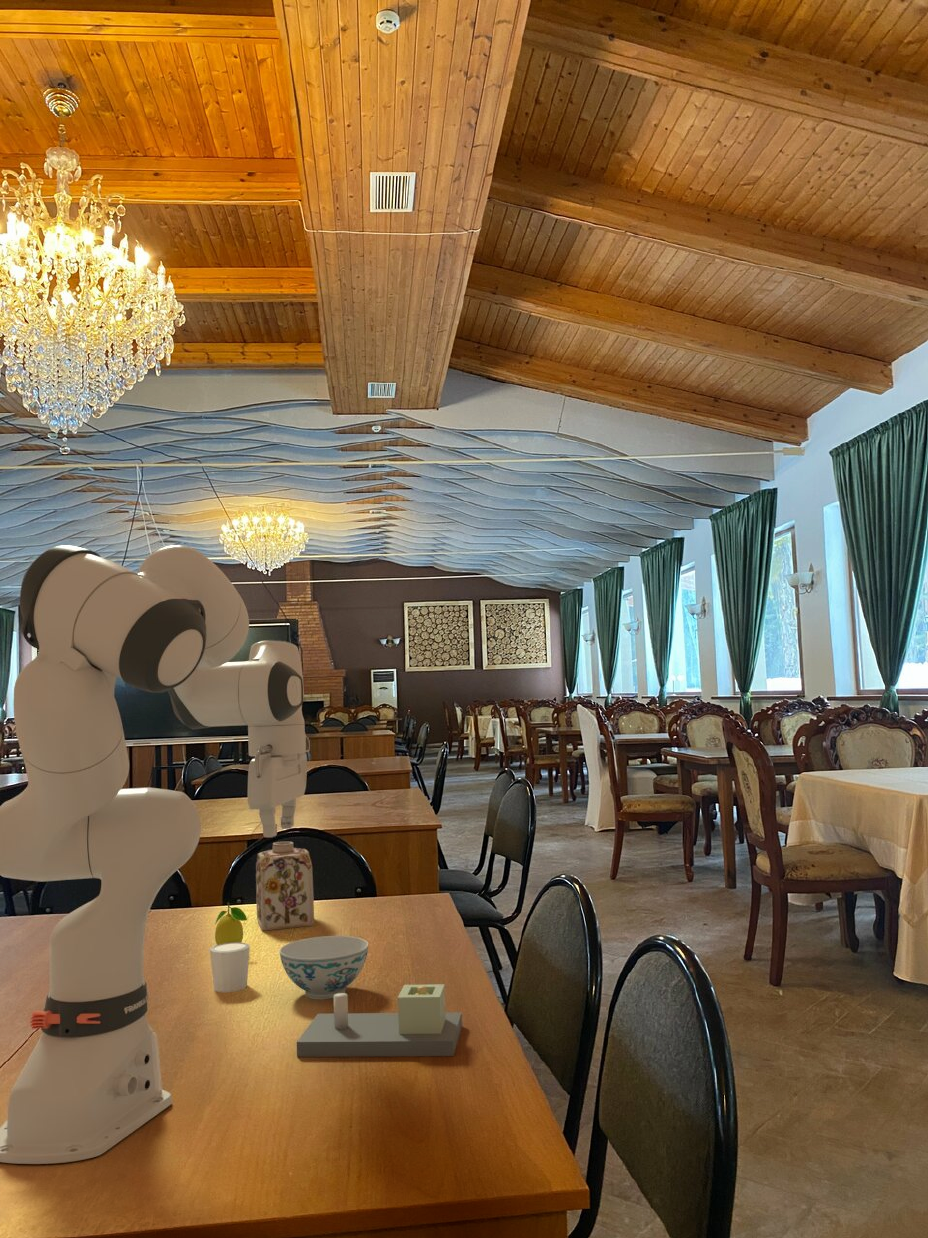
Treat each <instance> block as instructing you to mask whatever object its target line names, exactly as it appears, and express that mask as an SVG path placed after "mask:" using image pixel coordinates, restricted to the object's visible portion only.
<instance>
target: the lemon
mask: <svg viewBox="0 0 928 1238" xmlns="http://www.w3.org/2000/svg"><path fill="white" fill-rule="evenodd" d="M226 913H227V914H226ZM241 921H244V922H245V921H248V917H247V916H246V914H245V912H244V911H243V910H242V909H241V908H240V907H237V906H234V907H230V902H227V910H222V911H220V912H219V914H218V916H217V918H216V920H215V923H214V925H216V927H215V932H214V939H215V944H216V945H220V944H225V943H243V938H244V929H243V928H244V927H243V924H242V922H241Z"/></svg>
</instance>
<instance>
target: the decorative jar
mask: <svg viewBox="0 0 928 1238" xmlns="http://www.w3.org/2000/svg"><path fill="white" fill-rule="evenodd" d="M255 860H256V862H255V882H256V883H255V890H256V891H255V892H256V893H255V894H256V896H255V897H256V898H255V900H256V901H255V902H256V920H257V922H258V925H259V927H260V930H262V932H268V931H277V930H285V929H295V928H304V927H313V926H314V925H315V905H314V904H315V903H314V902H315V901H314V898H315V896H314V877H313V876H314V875H313V862H312V859H311V855H310V851H308V850H307V849H306V848H299V847H294V842H293V841H277V842H273V843H272V849H268V850H265V851H261V852H259V853H257V855H256V859H255Z"/></svg>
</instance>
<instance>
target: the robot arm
mask: <svg viewBox="0 0 928 1238" xmlns="http://www.w3.org/2000/svg"><path fill="white" fill-rule="evenodd" d="M20 586H21V587H20V594H19V597H20V598H19V609H20V610H19V611H20V614H21V617H22V619H23V624H22V627H21V634H22V636H23V638H24V640H25V641H26V642H27V644H28V645H29V646H31V647H33V649H34V648H35V649H37V650H38V653H37V655H36V656H35V658H33V659H32V660H31V661H30V662H28V663H27V664H26V665H25V666H24V667H23V668H22V670H21V671H20V672H19V674H18V676H17V678H16V680H15V682H14V687H13V718H14V727H15V731H16V737H17V741H18V745H19V749H20V752H21V756H22V758H23V763H24V766H25V771H26V778H27V782H28V783H27V786H26V787H25V788H24V790H23V791H22V792H20V793H19V794H18V795H16V796H15V797H12V798H11V799H9V800H6V801H4V802H3V803H2V804H1V805H0V876H1V877H3V878H7V879H13V880H21V881H29V882H30V881H33V882H41V883H42V882H55V881H56V882H57V881H66V880H71V881H72V880H83V879H99V880H101V881H100V882H101V886H100V891H99V894H98V895H97V896H96V897H95V898H94V899H92V900H91V901H88V902H87V903H85V904H83V905H81V906H79V907H78V908H76V909H74V910H73V911H71V912H69V913H68V914H66V915H65V916H64V917H62V919H60V920H59V921H58V923H57V924H56V925H55V926H54V928H53V929H52V932H51V935H50V938H49V993H48V994H47V996H46V999H45V1003H44V1006H43V1008H42V1010H35V1011H33V1012H32V1014H31V1017H30V1021H29V1023H30V1027H31V1029H32V1030H39V1029H40V1030H41V1032H42V1033H41V1034H40V1036H39V1039H38V1041H37V1042H36V1045H35V1047H34V1048H33V1049H32V1051H31V1054H30V1055H29V1057H28V1058H27V1060H26V1063H25V1065H24V1066H23V1068H22V1070H21V1072H20V1073H19V1075H18V1078H17V1080H16V1081H15V1083H14V1085H13V1086H12V1089H11V1090H10V1093H9V1096H8V1097H9V1098H8V1103H7V1104H8V1105H7V1117H6V1118H7V1119H6V1120H5V1122H3V1124H2V1125H1V1126H0V1163H7V1164H18V1165H19V1164H21V1165H22V1164H24V1165H25V1164H26V1165H42V1164H45V1165H49V1164H61V1163H71V1162H77V1161H78V1162H79V1161H83V1160H88V1159H91V1158H95V1157H99V1156H101V1155H103V1154H104V1153H106V1152H107V1151H108V1150H110V1149H111V1148H112V1147H114V1146H115V1145H117V1144H118V1143H119V1142H121V1141H122V1140H124V1139H126V1137H128V1136H129V1135H130V1134H132V1133H133V1132H135V1131H136V1130H138V1129H140V1127H142V1126H143V1125H145V1124H146V1123H147V1122H149V1121H151V1119H153V1118H155V1116H157V1115H159V1114H160V1113H162V1112H163V1111H164V1110H165V1109H167V1108H168V1107H170V1106H171V1105H172V1104H173V1098H172V1093H170V1092H169V1091H167V1090H164V1089H163V1085H162V1083H163V1082H162V1072H161V1061H160V1060H161V1059H160V1049H159V1039H158V1035H157V1033H156V1032H155V1030H153V1028H152V1027H151V1025H150V1023H149V1022H148V1020H147V1017H146V1013H147V1012H148V1000H149V992H148V986H147V982H146V981H145V980H144V951H145V950H144V949H145V946H144V945H145V935H146V934H145V933H146V925H147V922H148V921H147V920H148V917H149V913H150V910H151V908H152V906H153V905H152V904H154V901H155V899H156V897H157V895H158V893H159V892H160V890H161V888H162V887H163V886H164V885H165V883H166V882H167V881H168V879H170V878H171V877H172V876H173V874H175V873H176V872H177V871H178V870H179V869H180V868H181V867H183V866H184V865H185V864H186V863H187V862H188V861H189V860H190V859H191V857H192V856H193V855H194V853H195V851H196V849H197V847H198V845H199V841H200V838H201V833H202V832H201V831H202V827H201V825H202V824H201V818H200V814H199V811H198V809H197V806H196V805H195V803H194V802H193V800H192V799H191V798H190V797H189V796H188V795H187V794H186V793H185V792H183V791H178V790H172V789H167V788H165V789H164V788H157V787H135V788H134V787H131V788H123V786H125V783H126V782H127V779H128V776H129V771H130V759H129V754H128V749H127V743H126V739H125V731H124V728H123V723H122V722H123V721H122V718H121V714H120V711H119V708H118V703H117V700H116V698H115V686H116V680H117V678H119V679H121V680H123V682H124V683H125V684H127V685H128V686H131V687H134V688H136V689H138V690H142V691H144V692H149V693H154V694H161V693H165V692H167V693H168V696H170V701H171V705H172V709H173V713H174V715H175V716H176V717H177V719H178V720H179V721H180V722H181V723H182V724H183V725H185V726H186V727H187V728H189V729H191V730H200V729H208V728H215V727H230V726H231V727H233V726H237V727H238V726H247V732H248V733H247V734H248V736H247V738H248V739H247V740H248V741H247V743H248V744H247V745H248V756H249V757H254V758H252V759H251V760H250V762H249V764H248V765H249V766H248V773H247V803H248V807H249V809H250V810H259V811H258V813H259V818H260V822H261V824H262V835H263V837H264V838H273V837H276V836H277V834H278V825H277V823H276V815H275V814H276V807H279V806H280V805H281V807H282V808H281V817H280V827H281V829H283V830H284V829H285V830H287V829H291V828H293V827H294V826H295V819H294V818H295V813H296V808H297V799H298V798H300V797H303V796H305V792H306V789H307V776H308V775H307V774H308V773H307V772H308V757H307V756H308V755H307V753H308V752H309V751H310V748H311V745H310V743H311V741H310V739H309V737H308V736H307V735H306V732H305V731H306V730H305V727H306V726H305V719H304V716H303V711H302V710H303V709H302V708H303V703H304V697H305V694H304V693H305V692H304V677H303V675H304V674H303V669H302V660H301V656H300V651H299V649H298V646H297V645H295V644H294V643H292V642H291V641H287V640H280V639H277V640H275V639H269V640H268V639H267V640H260V641H258V642H255V643H253V644H252V645H251V646H250V649H249V656H248V660H245V661H243V660H241V661H231V660H232V659H233V658H234V657H236V655H237V654H238V653H239V652H240V651H241V649H242V647H243V646H244V644H245V642H246V640H247V637H248V634H249V629H250V618H249V613H248V610H247V606H246V605H245V602H244V599H243V598H242V596H241V595H240V594H239V591H237V589H236V587H235V586H234V584H233V583H232V582H231V580H230V579H229V578H228V577H227V575H226V574H225V573H224V572H223V571H222V570H221V569H220V568H219V566H218V565H216V564H215V563H214V562H213V561H212V559H211V560H210V558H208V557H207V556H206V555H204V554H203V553H202V552H200V551H199V550H197V549H195V548H194V547H191V546H187V545H183V544H182V545H179V544H177V545H167V546H165V547H162V548H159V549H157V550H155V551H153V552H152V553H150V554H149V555H148V556H147V557H146V558H145V559H144V560H143V561H142V563H141V564H140V566H139V568H138V570H137V572H135V571H133V570H131V569H129V568H127V567H125V566H123V565H121V564H119V563H117V562H114V561H112V560H109V559H107V558H104V557H103V556H101V555H100V554H99V553H98V552H95V551H94V550H93V551H92V550H91V549H87V548H84V547H83V548H82V547H80V546H75V545H66V544H65V545H64V544H63V545H56V546H53V547H51V548H49V549H47V550H46V551H44V552H43V553H41V554H40V555H39V556H38V557H37V558H36V559H35V560H33V562H32V563H31V564H30V565H29V567H28V568H27V570H26V571H25V573H24V575H23V578H22V580H21V585H20ZM28 634H29V635H30V637H29V635H28Z"/></svg>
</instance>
